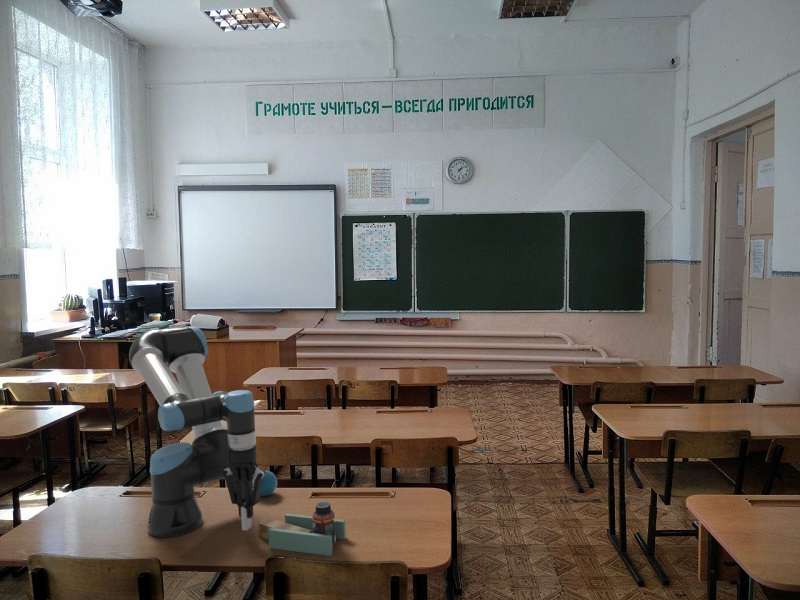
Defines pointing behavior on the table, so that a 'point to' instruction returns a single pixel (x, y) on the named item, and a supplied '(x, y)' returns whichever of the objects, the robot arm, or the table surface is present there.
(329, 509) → the supplement bottle
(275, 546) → the channel
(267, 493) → the ball
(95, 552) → the table surface
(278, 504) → the table surface
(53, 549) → the table surface
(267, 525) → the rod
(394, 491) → the table surface
